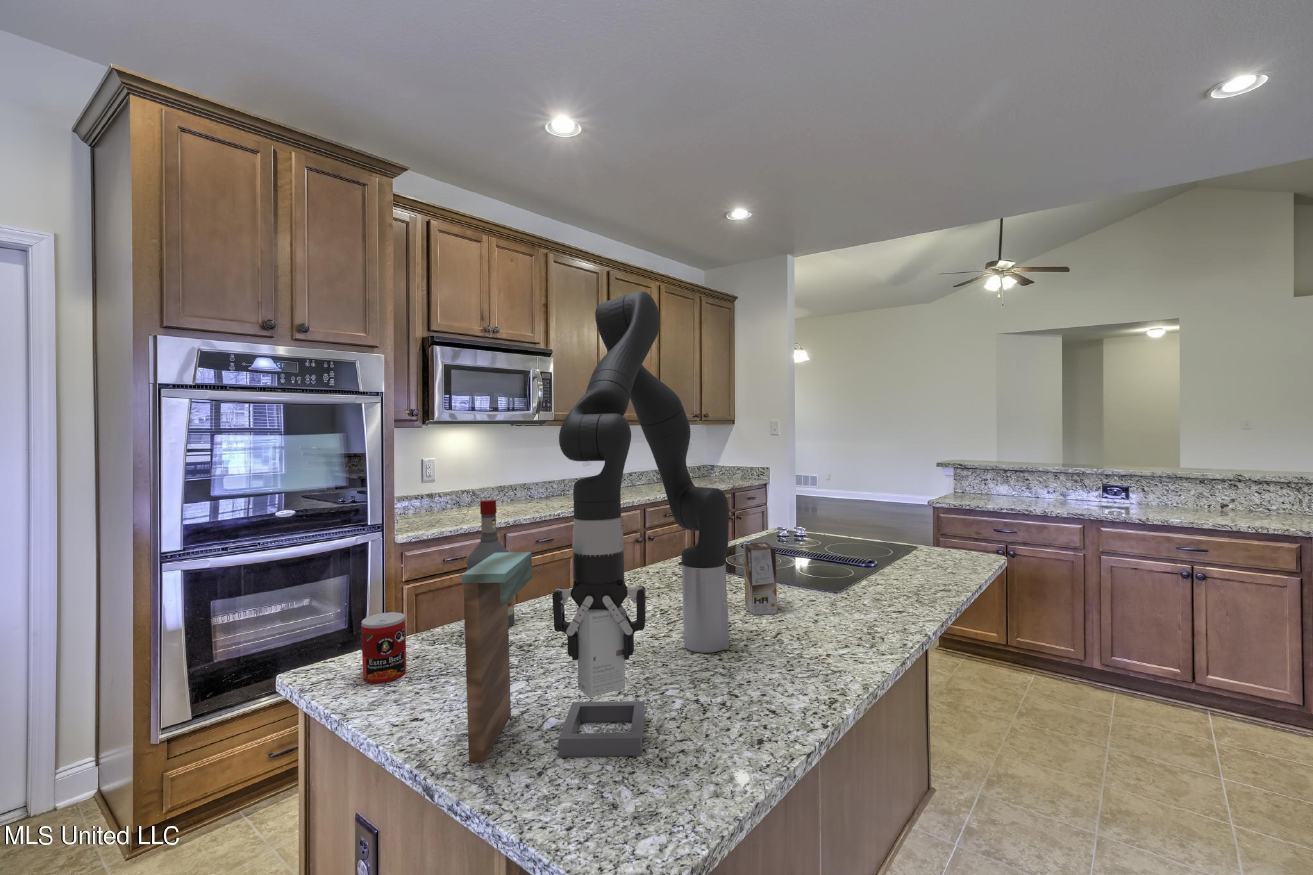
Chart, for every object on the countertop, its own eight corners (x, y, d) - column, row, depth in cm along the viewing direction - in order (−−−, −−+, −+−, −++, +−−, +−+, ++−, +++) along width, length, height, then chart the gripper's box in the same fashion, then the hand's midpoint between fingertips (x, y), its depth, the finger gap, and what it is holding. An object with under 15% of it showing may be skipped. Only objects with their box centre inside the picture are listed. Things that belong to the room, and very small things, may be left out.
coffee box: (778, 614, 146) (776, 548, 146) (752, 615, 145) (750, 549, 145) (768, 603, 155) (766, 541, 155) (744, 604, 155) (742, 542, 154)
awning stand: (536, 713, 97) (531, 551, 97) (510, 764, 82) (505, 573, 82) (499, 713, 97) (494, 552, 97) (467, 764, 82) (461, 574, 82)
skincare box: (590, 699, 86) (588, 614, 86) (576, 688, 89) (574, 607, 89) (627, 688, 89) (625, 607, 89) (612, 678, 93) (611, 600, 93)
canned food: (363, 687, 109) (361, 627, 109) (362, 672, 116) (360, 616, 116) (408, 678, 113) (406, 620, 113) (404, 664, 120) (403, 609, 120)
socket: (645, 716, 95) (644, 700, 95) (640, 755, 83) (640, 737, 83) (572, 717, 95) (572, 701, 95) (558, 756, 84) (558, 738, 84)
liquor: (463, 631, 140) (459, 502, 139) (487, 619, 148) (484, 498, 148) (496, 634, 136) (492, 503, 136) (519, 622, 145) (515, 498, 145)
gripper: (647, 542, 93) (650, 648, 93) (555, 544, 93) (558, 649, 93) (645, 551, 85) (647, 667, 85) (544, 553, 86) (547, 668, 86)
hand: (601, 658), depth 89 cm, fingers closed on skincare box, 7 cm apart
